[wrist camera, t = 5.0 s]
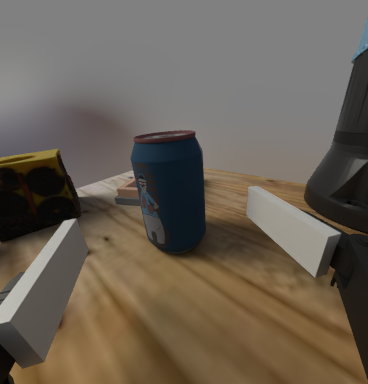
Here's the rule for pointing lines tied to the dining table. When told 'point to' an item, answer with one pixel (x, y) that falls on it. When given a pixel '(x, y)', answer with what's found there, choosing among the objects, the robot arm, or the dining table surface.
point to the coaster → (128, 194)
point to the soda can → (170, 188)
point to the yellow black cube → (35, 193)
